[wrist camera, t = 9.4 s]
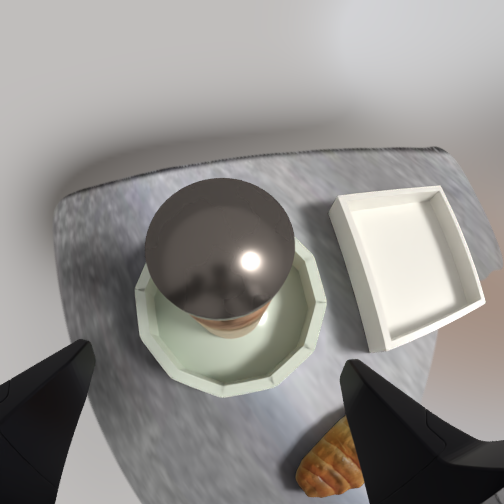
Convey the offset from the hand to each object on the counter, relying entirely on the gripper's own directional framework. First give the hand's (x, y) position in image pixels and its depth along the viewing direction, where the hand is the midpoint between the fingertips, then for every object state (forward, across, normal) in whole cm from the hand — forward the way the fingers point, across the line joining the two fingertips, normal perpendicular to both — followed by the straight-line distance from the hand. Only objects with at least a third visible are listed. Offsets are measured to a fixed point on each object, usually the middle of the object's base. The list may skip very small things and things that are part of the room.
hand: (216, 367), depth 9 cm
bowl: (+12, -1, +5) cm, 13 cm away
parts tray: (+14, -17, +1) cm, 22 cm away
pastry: (+4, -11, +14) cm, 19 cm away
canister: (+12, -1, +5) cm, 13 cm away
